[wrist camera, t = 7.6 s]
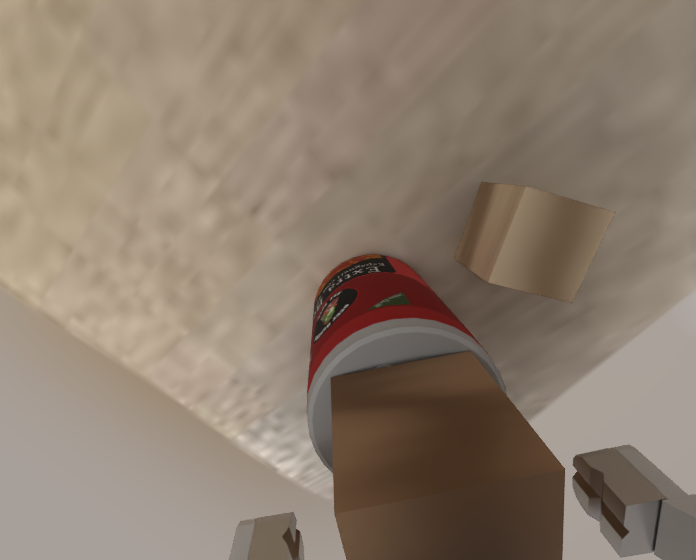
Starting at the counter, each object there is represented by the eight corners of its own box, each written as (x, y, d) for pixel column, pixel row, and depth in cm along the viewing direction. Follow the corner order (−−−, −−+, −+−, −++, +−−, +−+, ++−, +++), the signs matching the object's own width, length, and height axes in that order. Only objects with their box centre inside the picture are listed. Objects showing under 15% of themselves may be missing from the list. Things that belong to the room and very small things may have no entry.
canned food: (368, 226, 22) (411, 281, 11) (451, 305, 24) (552, 413, 13) (288, 310, 23) (259, 430, 13) (373, 378, 25) (409, 529, 15)
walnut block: (354, 484, 14) (370, 652, 9) (330, 377, 12) (334, 514, 7) (478, 460, 14) (560, 615, 9) (470, 350, 12) (564, 468, 7)
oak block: (453, 258, 23) (487, 282, 18) (481, 182, 21) (526, 186, 16) (521, 275, 23) (571, 302, 19) (552, 202, 22) (615, 212, 17)
